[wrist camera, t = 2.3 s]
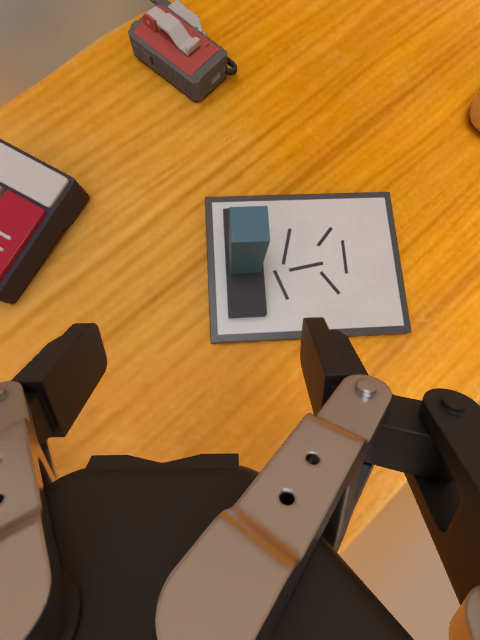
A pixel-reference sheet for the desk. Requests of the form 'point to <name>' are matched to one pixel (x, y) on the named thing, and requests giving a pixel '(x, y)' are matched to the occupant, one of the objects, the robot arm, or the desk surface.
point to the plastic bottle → (475, 111)
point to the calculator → (31, 215)
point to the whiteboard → (314, 267)
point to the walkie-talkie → (180, 49)
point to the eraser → (246, 259)
